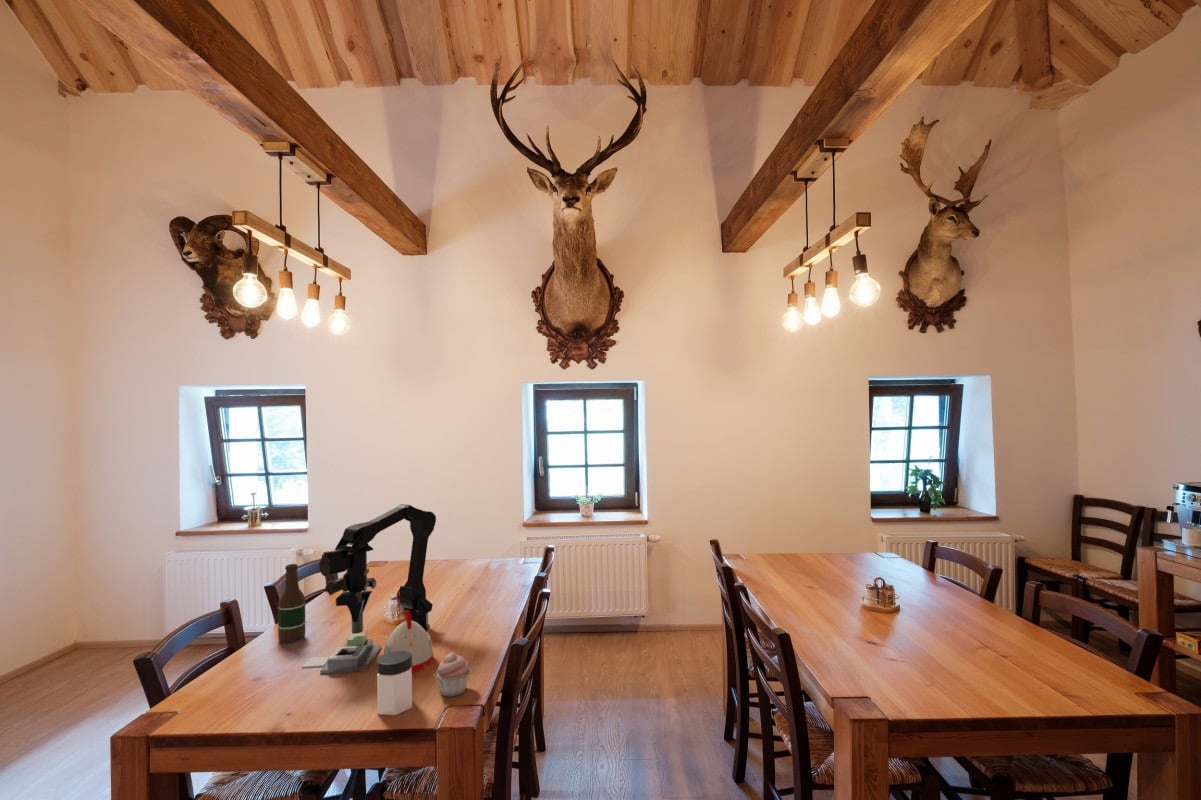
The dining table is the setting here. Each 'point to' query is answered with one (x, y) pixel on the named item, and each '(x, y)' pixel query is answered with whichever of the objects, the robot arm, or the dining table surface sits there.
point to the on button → (357, 640)
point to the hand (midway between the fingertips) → (357, 619)
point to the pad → (316, 662)
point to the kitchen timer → (411, 642)
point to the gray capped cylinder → (358, 623)
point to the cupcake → (452, 675)
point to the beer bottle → (291, 608)
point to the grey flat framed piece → (351, 658)
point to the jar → (394, 683)
